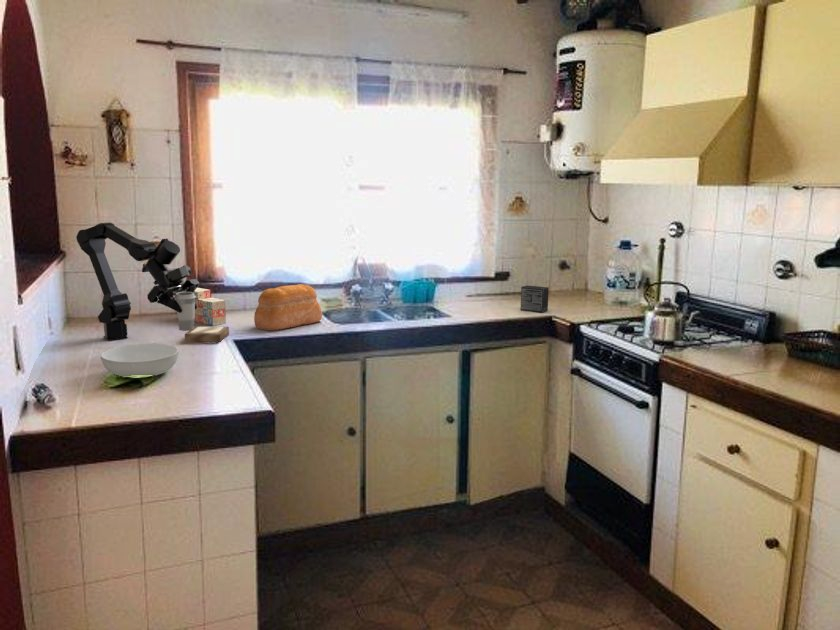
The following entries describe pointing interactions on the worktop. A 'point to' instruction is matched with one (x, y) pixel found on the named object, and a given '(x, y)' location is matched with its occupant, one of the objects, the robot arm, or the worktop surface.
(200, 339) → the plinth
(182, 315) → the cup
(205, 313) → the stack of blocks
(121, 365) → the serving bowl
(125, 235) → the robot arm
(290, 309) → the bread
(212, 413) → the worktop surface
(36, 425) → the worktop surface
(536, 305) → the small box
